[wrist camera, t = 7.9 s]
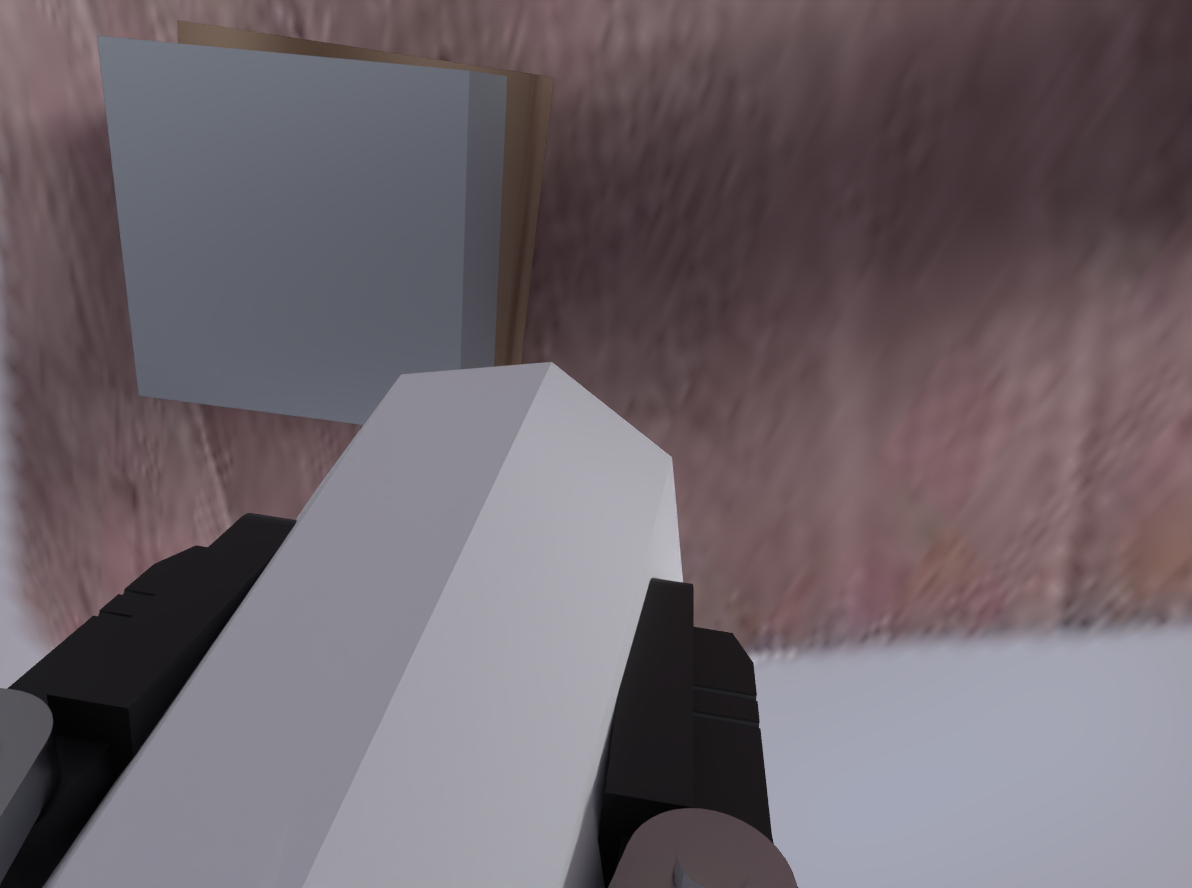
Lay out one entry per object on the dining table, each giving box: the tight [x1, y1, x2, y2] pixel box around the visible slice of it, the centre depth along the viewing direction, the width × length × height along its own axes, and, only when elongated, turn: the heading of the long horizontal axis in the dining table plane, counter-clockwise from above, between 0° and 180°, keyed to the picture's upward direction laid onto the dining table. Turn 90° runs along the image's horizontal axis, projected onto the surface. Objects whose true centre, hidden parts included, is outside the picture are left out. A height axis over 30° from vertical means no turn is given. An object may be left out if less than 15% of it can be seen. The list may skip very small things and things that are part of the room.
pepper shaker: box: [42, 362, 683, 888], centre depth 7 cm, size 5×5×11 cm
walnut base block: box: [177, 20, 554, 367], centre depth 27 cm, size 10×10×4 cm
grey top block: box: [97, 36, 507, 425], centre depth 24 cm, size 9×9×4 cm
